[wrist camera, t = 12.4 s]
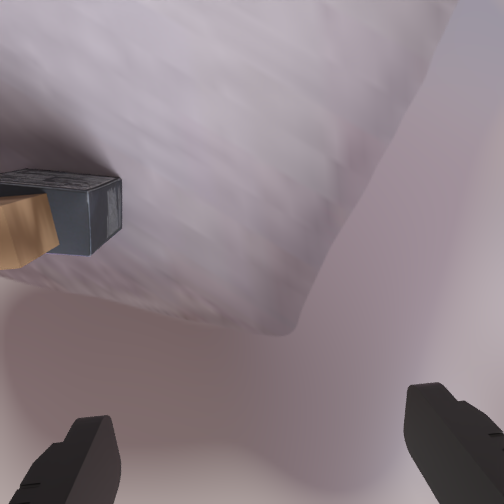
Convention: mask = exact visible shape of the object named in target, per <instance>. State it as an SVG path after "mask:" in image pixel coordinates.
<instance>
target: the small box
mask: <svg viewBox="0 0 504 504" xmlns="http://www.w3.org/2000/svg"><path fill="white" fill-rule="evenodd" d="M44 193H46V194H47V198H48V201H49V205H50V209H51V213H52V217H53V221H54V225H55V229H56V233H57V236H58V240H59V245H58V246H56V247H55V248H53V249H51V250H50V251H48V252H46V253H47V254H61V255H73V256H87V257H90V256H91V255H92V254H93V253H94V252H95V251H97V250H98V249H99V248H100V247H101V246H102V245H103V244H104V243H105V242H107V241H108V240H109V239H110V238H111V237H112V236H114V235H115V234H116V233H117V232H118V231H119V230H121V229H122V179H121V178H116V177H108V176H97V175H90V174H77V173H67V172H59V171H50V170H49V171H48V170H35V169H22V170H17V171H12V172H6V173H0V197H7V196H20V195H32V194H44Z"/></svg>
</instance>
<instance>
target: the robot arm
mask: <svg viewBox="0 0 504 504" xmlns="http://www.w3.org/2000/svg"><path fill="white" fill-rule="evenodd" d="M404 438H405V442H406V445H407V448H408V451H409V453H410V455H411V457H412V458H413V460H414V462H415V463H416V465H417V467H418V468H419V470H420V472H421V473H422V475H423V477H424V478H425V480H426V482H427V483H428V485H429V487H430V488H431V490H432V492H433V494H434V495H435V497H436V499H437V500H438V502H439V503H440V504H504V434H503V431H502V430H501V429H500V428H499V427H498V426H497V425H496V424H495V423H494V422H493V421H492V420H491V419H490V418H489V417H488V416H487V415H486V414H484V413H483V412H481V411H480V410H478V409H477V408H475V407H474V406H472V405H470V404H469V403H467V402H466V401H457V400H456V399H455V398H454V396H452V394H451V393H450V392H449V391H448V390H447V389H446V388H445V387H444V386H443V385H442V384H441V383H438V382H435V383H426V384H416V385H410V386H409V387H408V390H407V399H406V409H405V419H404ZM120 476H121V459H120V455H119V450H118V446H117V442H116V437H115V433H114V428H113V424H112V420H111V418H110V416H108V415H104V416H94V417H85V418H78V419H76V420H75V422H74V423H73V425H72V427H71V428H70V430H69V432H68V434H67V436H66V438H65V439H64V441H63V442H60V443H53V444H52V445H51V446H50V447H49V448H48V449H47V450H46V451H45V452H44V453H43V454H42V455H41V456H40V457H39V458H38V459H37V460H36V461H35V462H34V463H33V464H32V466H31V467H30V469H29V471H28V472H27V474H26V476H25V478H24V479H23V481H22V482H21V484H20V488H19V490H17V491H16V492H15V494H14V496H13V497H12V499H11V501H10V502H9V504H113V503H114V500H115V497H116V493H117V490H118V487H119V482H120Z"/></svg>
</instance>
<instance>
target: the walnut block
mask: <svg viewBox="0 0 504 504" xmlns="http://www.w3.org/2000/svg"><path fill="white" fill-rule="evenodd" d="M58 245H59V240H58V236H57V233H56V229H55V225H54V221H53V217H52V213H51V209H50V205H49V201H48V198H47V194H46V193H44V194H32V195H20V196H7V197H0V270H4V269H15V268H21V267H23V266H25V265H26V264H28V263H30V262H31V261H33V260H35V259H36V258H38V257H40V256H41V255H43V254H45V253H46V252H48V251H50V250H51V249H53V248H55V247H56V246H58Z"/></svg>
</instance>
